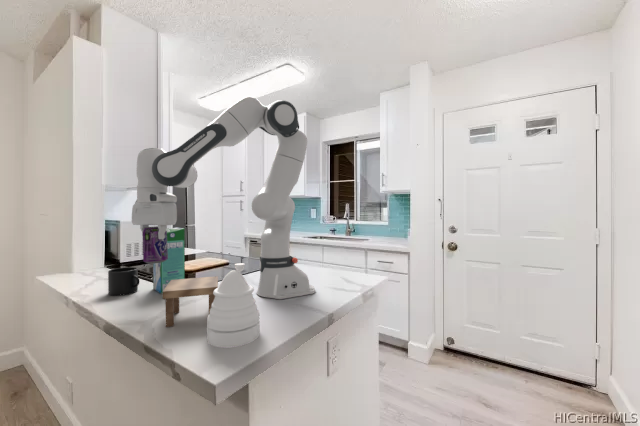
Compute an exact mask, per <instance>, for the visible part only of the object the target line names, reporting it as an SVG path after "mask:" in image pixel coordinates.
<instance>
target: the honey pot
mask: <svg viewBox="0 0 640 426" xmlns="http://www.w3.org/2000/svg"><path fill="white" fill-rule="evenodd" d="M245 265H246V264H245V263H242V262H239V263H234V268H235V269H233V270H230V271H229V272H228V273H226V275H225V276H224V277H223V278H222V281H221V282H220V285H218V288H216V289H215V290H214V291H213V294H214V295H215V298H214V301H213V303H212V305H211V307H212V308H211V309H210V314H209V313H208V315H207V319H206V341H207V343H208V345H210V346H212V347H215V348H223V349H224V348H228V349H229V348H236V347H241V346H245V345H247V344H250V343H252V342H254V341H256V340H257V338H259V337H260V333H261V324H260V323H261V322H260V311H259V309H258V306H257V304H256V299H255V298H254V295H253V292H254V291H255V288H254V287H253V286H252V285H251V284H249V283H248V282H247V280H246V278H245V277H244V276H243V274H242V273H241V272H242V271H244V270H245Z"/></svg>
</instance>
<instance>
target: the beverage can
mask: <svg viewBox="0 0 640 426" xmlns="http://www.w3.org/2000/svg"><path fill="white" fill-rule="evenodd" d="M158 232H159V229H158V225H155V226H149V227H144V230H143V233H141V235H142V257H143V259H142V260H143V262H144V263H146V264H147V265H148V264H149V265H151V264H152V265H153V263H161V262H164V261H166V260H167V259H168V249H167V231H166V232H165V234H164V235H165V238H164V239H157V234H158Z"/></svg>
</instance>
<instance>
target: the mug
mask: <svg viewBox="0 0 640 426" xmlns="http://www.w3.org/2000/svg"><path fill="white" fill-rule="evenodd" d="M107 273H108V274H107V275H108V276H107V277H108V279H107V280H108V282H107V283H108V284H107V287H108V288H107V290H108V292H107V293H108V296H112V297H115V296H116V297H119V296H120V297H121V296H127V295H131V294H134V293H137V291H138V289H139V288H138V287H139V285H140V278H139V276H138V273H139V272H138V267H134V266H133V267H132V266H130V267H129V266H128V267H127V266H126V267H119V268H113V269H110V270H108V271H107Z"/></svg>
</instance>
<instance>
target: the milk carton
mask: <svg viewBox="0 0 640 426" xmlns="http://www.w3.org/2000/svg"><path fill="white" fill-rule="evenodd" d="M166 231H167V249H168V259H167V260H166V261H164V262H161V263H152V267H153V268H152V270H153V271H152V273H153V276H152V278H153V280H152V286H153V287H152V288H153V290H154V291H156V292H158V293H159V294H163V290H164V289H165V288H166V286H167V285H168V283H169V282H170V281H171V280H176V279H186V275H185V274H186V273H185V271H186V269H185V268H186V267H185V265H186V263H185V260H186V259H185V258H186V257H185V256H186V255H185V253H186V251H185V248H186V247H185V244H186V243H185V242H186V240H185V236H186V235H185V227H173V228H169V227H167V229H166Z"/></svg>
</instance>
